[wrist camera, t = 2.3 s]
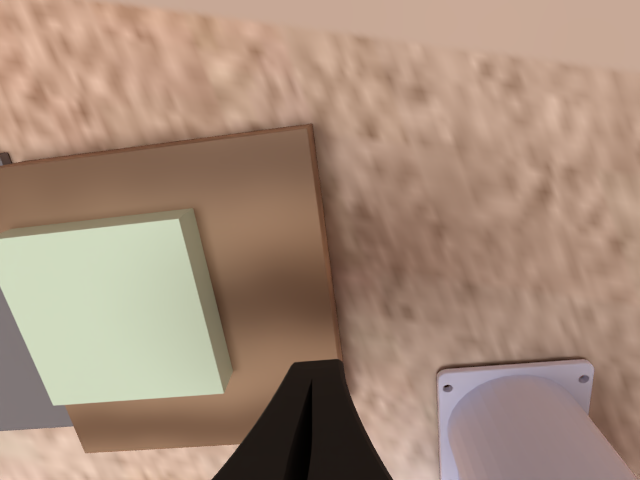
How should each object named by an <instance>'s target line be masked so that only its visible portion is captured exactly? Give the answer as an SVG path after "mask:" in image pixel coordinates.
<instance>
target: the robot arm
mask: <svg viewBox="0 0 640 480" xmlns="http://www.w3.org/2000/svg"><path fill="white" fill-rule="evenodd" d="M583 375H584V376H583ZM581 376H583V377H582V378H579V377H581ZM593 376H594V367H593V365H592V364H591V363H590V362H589V361H588V360H585V359H578V360H564V361H550V362H536V363H522V364H509V365H495V366H481V367H467V368H453V369H444V370H441V371H440V372H439V373H438V374H437V403H438V433H439V463H440V480H638V479H637V477H636V476H635V475H634V474H633V472H632V471H631V470H630V468H629V467H628V466H627V465H626V463H625V462H624V461H623V460H622V458H621V457H620V456H619V454H618V453H617V452H616V451H615V449H614V448H613V447H612V446H611V444H610V443H609V442H608V440H607V439H606V438H605V437H604V435H603V434H602V433H601V432H600V430H599V429H598V428H597V426H596V425H595V424H594V423H593V421H592V420H591V419H590V417H589V416H588V415H589V407H590V399H591V392H592V384H593ZM445 385H450V386H449V387H444V386H445ZM212 480H393V479H392V477H391V475H390V474H389V472H388V471H387V469H386V467H385V466H384V464H383V462H382V461H381V459H380V457H379V455H378V454H377V452H376V450H375V448H374V446H373V444H372V442H371V440H370V439H369V437H368V435H367V433H366V431H365V429H364V427H363V424H362V422H361V420H360V418H359V416H358V413H357V411H356V408H355V406H354V404H353V401H352V399H351V396H350V393H349V390H348V387H347V384H346V380H345V374H344V366H343V362H342V361H341V360H339V359H329V360H316V361H303V362H294V363H293V364H292V365H291V366H290V368H289V370H288V372H287V374H286V375H285V377H284V379H283V381H282V382H281V384H280V386H279V388H278V389H277V391H276V393H275V394H274V396H273V397H272V399H271V401H270V402H269V404H268V405H267V407H266V408H265V410H264V411H263V413H262V414H261V416H260V417H259V419H258V420H257V422H256V423H255V425H254V426H253V428H252V429H251V430H250V432H249V433H248V434H247V436H246V437H245V438H244V440H243V441H242V443H241V444H240V445H239V447H238V448H237V449H236V451H235V452H234V453H233V454H232V456H231V457H230V458H229V459H228V461H227V462H226V463H225V464H224V466H223V467H222V468H221V469H220V470H219V472H218V473H217V474H216V475H215V476H214V477H213V479H212Z"/></svg>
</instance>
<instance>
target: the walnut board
mask: <svg viewBox="0 0 640 480" xmlns="http://www.w3.org/2000/svg"><path fill="white" fill-rule="evenodd" d="M189 208H193V210H194V214H195V218H196V222H197V226H198V230H199V234H200V238H201V243H202V247H203V251H204V255H205V259H206V263H207V267H208V271H209V275H210V279H211V283H212V288H213V292H214V296H215V300H216V304H217V308H218V312H219V316H220V320H221V324H222V328H223V333H224V337H225V341H226V345H227V349H228V353H229V357H230V361H231V365H232V369H233V372H232V375H231V377H230V380H229V382H228V385H227V387H226V390H225V392H224V394H211V395H197V396H183V397H169V398H154V399H140V400H126V401H112V402H98V403H84V404H69V405H65V407H66V410H67V412H68V414H69V417H70V419H71V421H72V423H73V426H74V428H75V430H76V433H77V435H78V437H79V440H80V442H81V444H82V447H83V449H84V451H85V453H97V452H114V451H131V450H149V449H166V448H183V447H200V446H217V445H234V444H241V443H242V441H243V440H244V438H245V437H246V436H247V434H248V433H249V432H250V430H251V429H252V428H253V426H254V425H255V423H256V422H257V420H258V419H259V417H260V416H261V414H262V413H263V411H264V410H265V408H266V407H267V405H268V404H269V402H270V401H271V399H272V397H273V396H274V394H275V393H276V391H277V389H278V388H279V386H280V384H281V382H282V381H283V379H284V377H285V375H286V374H287V372H288V370H289V368H290V366H291V365H292V364H293V363H294V362H303V361H316V360H329V359H339V360H341V361H342V362H343V359H342V351H341V343H340V335H339V328H338V320H337V312H336V304H335V297H334V289H333V281H332V273H331V266H330V258H329V250H328V242H327V235H326V227H325V219H324V211H323V204H322V196H321V188H320V180H319V173H318V165H317V157H316V149H315V142H314V134H313V126H312V124H306V125H299V126H291V127H283V128H276V129H268V130H260V131H253V132H245V133H237V134H230V135H222V136H215V137H207V138H199V139H192V140H184V141H176V142H169V143H161V144H153V145H146V146H138V147H130V148H123V149H115V150H108V151H100V152H92V153H85V154H77V155H69V156H62V157H54V158H46V159H39V160H31V161H24V162H18V163H13V164H7V165H2V166H0V233H2V232H4V231H7V230H9V229H15V228H24V227H32V226H41V225H50V224H59V223H67V222H76V221H85V220H93V219H102V218H111V217H120V216H128V215H137V214H146V213H155V212H163V211H172V210H181V209H189Z"/></svg>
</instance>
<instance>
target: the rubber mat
mask: <svg viewBox="0 0 640 480" xmlns="http://www.w3.org/2000/svg"><path fill="white" fill-rule="evenodd" d="M7 164H12V163H11V161H10V158H9V156H8V153H0V166H2V165H7ZM70 426H73V423H72V421H71V419H70V417H69V414H68V412H67V410H66V407H65V405H55V406H53V404H52V402H51V399H50V397H49V395H48V393H47V390H46V388H45V386H44V384H43V381H42V379H41V377H40V375H39V372H38V370H37V368H36V366H35V363H34V361H33V359H32V357H31V354H30V352H29V350H28V348H27V346H26V343H25V341H24V339H23V337H22V334H21V332H20V330H19V328H18V325H17V323H16V321H15V319H14V316H13V314H12V312H11V310H10V307H9V305H8V303H7V301H6V299H5V296H4V294H3V292H2V290H1V287H0V431H8V430H24V429H39V428H55V427H70Z"/></svg>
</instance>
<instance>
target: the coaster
mask: <svg viewBox="0 0 640 480" xmlns="http://www.w3.org/2000/svg"><path fill="white" fill-rule="evenodd" d="M0 287H1V290H2V292H3V294H4V296H5V299H6V301H7V303H8V305H9V307H10V310H11V312H12V314H13V316H14V319H15V321H16V323H17V325H18V328H19V330H20V332H21V334H22V337H23V339H24V341H25V343H26V346H27V348H28V350H29V352H30V354H31V357H32V359H33V361H34V363H35V366H36V368H37V370H38V372H39V375H40V377H41V379H42V381H43V384H44V386H45V388H46V390H47V393H48V395H49V397H50V399H51V402H52V404H53V406H55V405H69V404H84V403H98V402H112V401H126V400H140V399H154V398H169V397H183V396H197V395H211V394H224V392H225V390H226V387H227V385H228V382H229V380H230V377H231V375H232V372H233V369H232V365H231V361H230V357H229V353H228V349H227V345H226V341H225V337H224V333H223V328H222V324H221V320H220V316H219V312H218V308H217V304H216V300H215V296H214V292H213V288H212V283H211V279H210V275H209V271H208V267H207V263H206V259H205V255H204V251H203V247H202V243H201V238H200V234H199V230H198V226H197V222H196V218H195V214H194V210H193V208H189V209H181V210H172V211H163V212H155V213H146V214H137V215H128V216H120V217H111V218H102V219H93V220H85V221H76V222H67V223H59V224H50V225H41V226H32V227H24V228H15V229H9V230H7V231H4V232H2V233H0Z"/></svg>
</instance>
